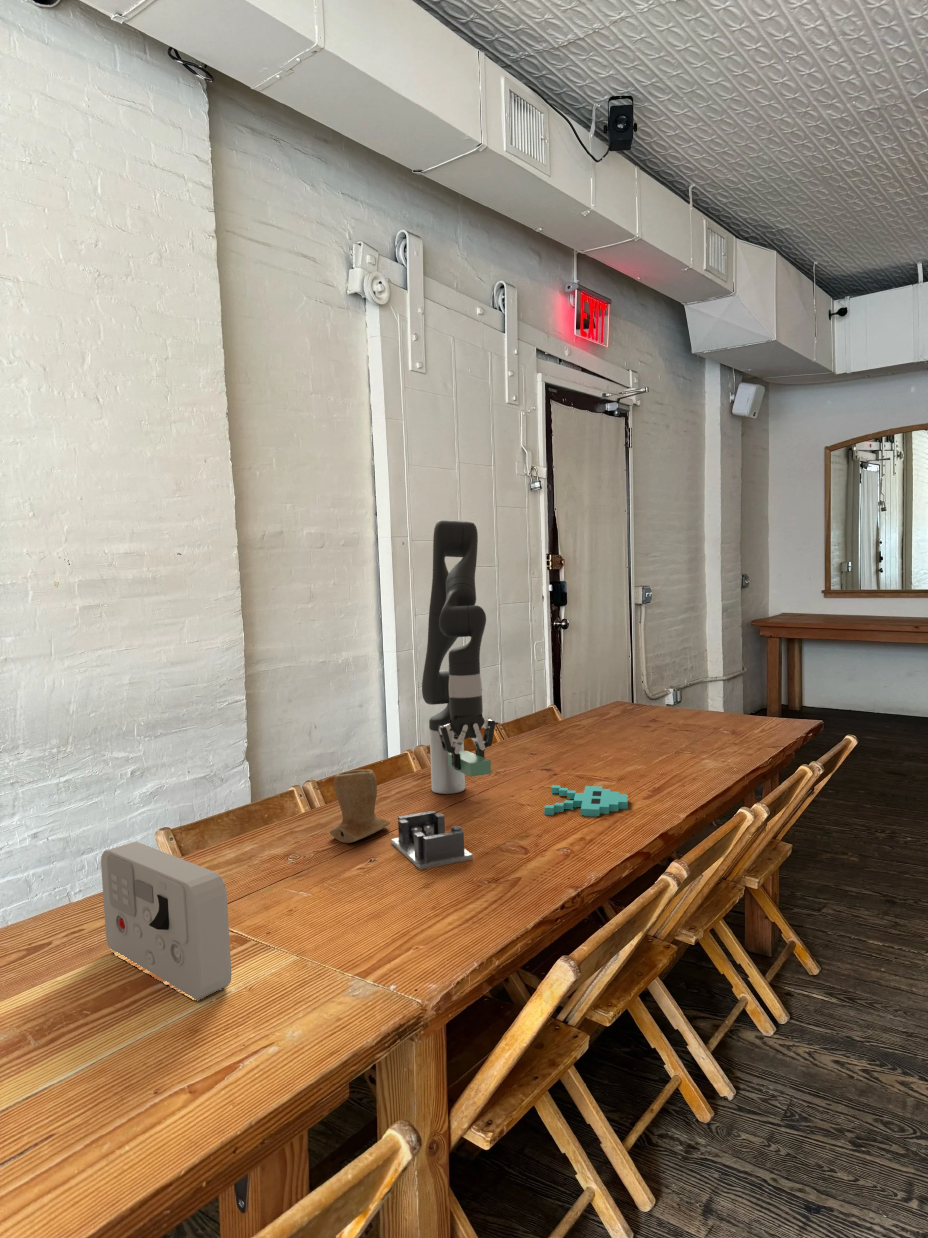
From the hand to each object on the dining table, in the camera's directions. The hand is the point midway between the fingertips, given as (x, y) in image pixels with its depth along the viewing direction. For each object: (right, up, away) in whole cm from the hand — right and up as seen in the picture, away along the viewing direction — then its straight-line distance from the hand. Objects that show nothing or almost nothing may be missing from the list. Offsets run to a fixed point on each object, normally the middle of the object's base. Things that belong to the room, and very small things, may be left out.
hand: (468, 767), depth 190 cm
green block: (0, -1, 0) cm, 1 cm away
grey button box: (-49, -22, -57) cm, 78 cm away
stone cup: (-26, -17, +5) cm, 32 cm away
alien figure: (+31, -14, +23) cm, 41 cm away
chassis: (-8, -17, -7) cm, 20 cm away
